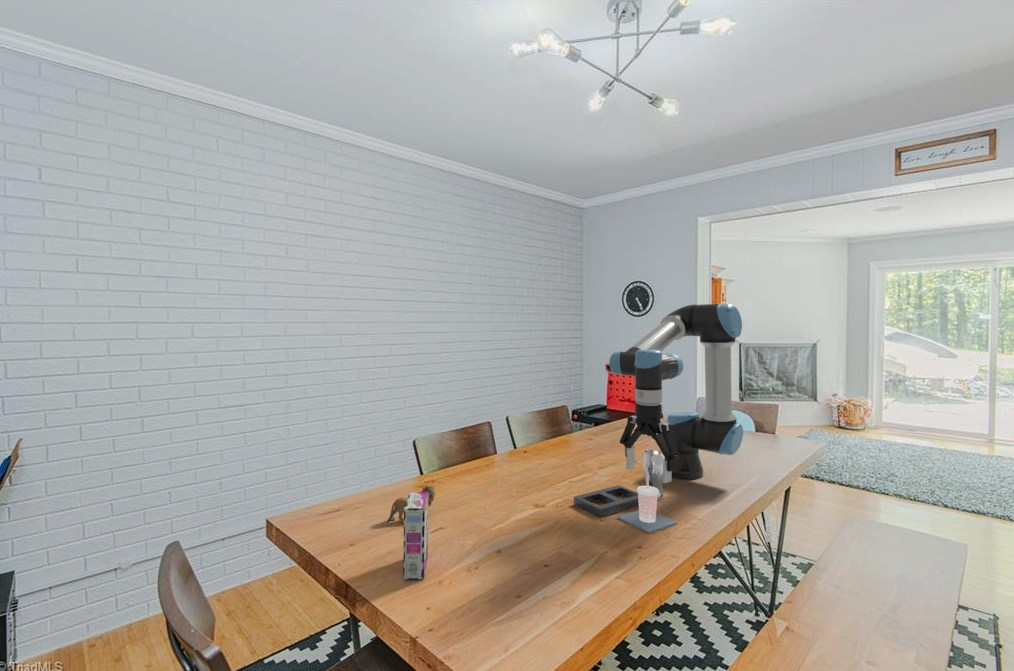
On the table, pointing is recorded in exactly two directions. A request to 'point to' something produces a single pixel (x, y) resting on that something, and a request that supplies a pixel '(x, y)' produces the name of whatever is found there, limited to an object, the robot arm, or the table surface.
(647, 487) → the beverage cup
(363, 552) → the table surface
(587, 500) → the dark grey slotted frame
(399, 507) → the lion figurine
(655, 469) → the silver metal tumbler
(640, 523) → the slate mat
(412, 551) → the candy bar box
